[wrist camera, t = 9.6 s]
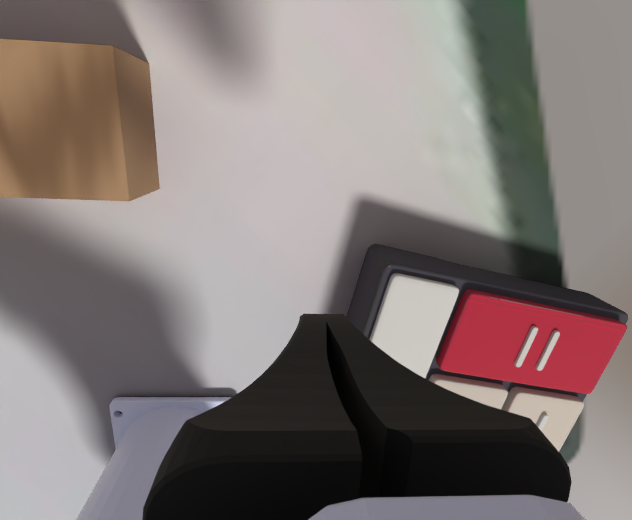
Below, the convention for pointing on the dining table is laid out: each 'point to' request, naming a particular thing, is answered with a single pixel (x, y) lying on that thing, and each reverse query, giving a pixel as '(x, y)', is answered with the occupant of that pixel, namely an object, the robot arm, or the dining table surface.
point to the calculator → (488, 334)
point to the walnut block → (75, 122)
